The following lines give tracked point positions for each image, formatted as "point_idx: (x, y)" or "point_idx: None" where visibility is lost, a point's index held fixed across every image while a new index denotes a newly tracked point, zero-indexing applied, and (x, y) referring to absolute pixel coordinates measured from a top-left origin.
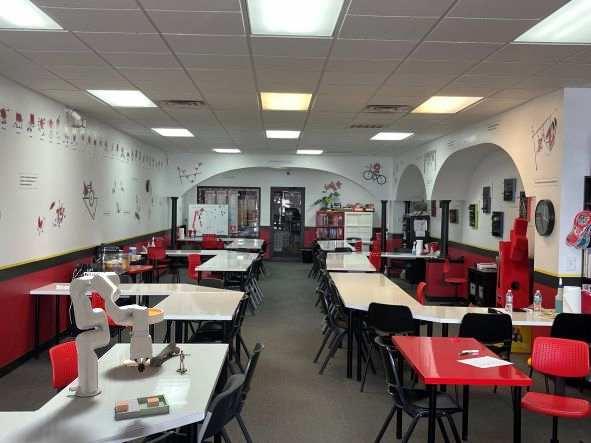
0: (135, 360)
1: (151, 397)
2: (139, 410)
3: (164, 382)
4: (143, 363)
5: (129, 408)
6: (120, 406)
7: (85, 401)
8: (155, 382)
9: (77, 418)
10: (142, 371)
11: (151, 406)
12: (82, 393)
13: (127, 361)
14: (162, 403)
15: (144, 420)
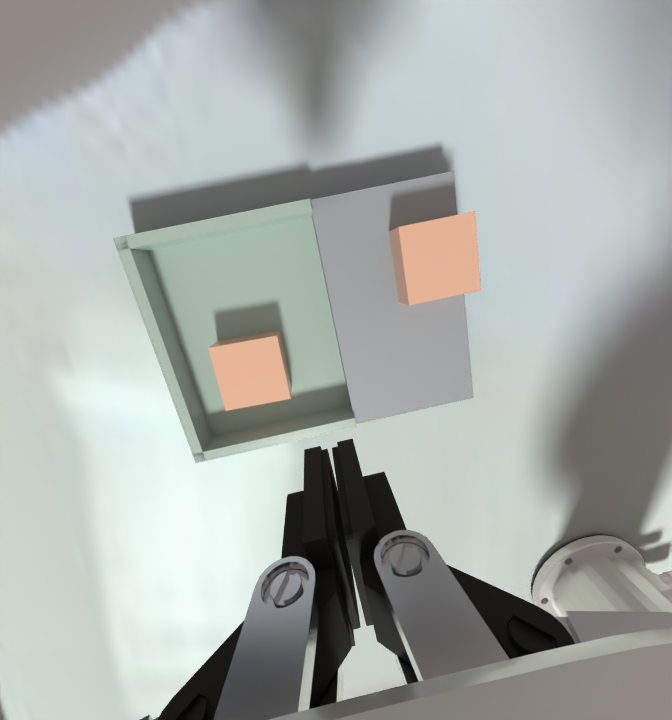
0: (524, 619)
1: (272, 433)
2: (314, 203)
3: None
4: (299, 562)
5: (383, 257)
6: (446, 217)
7: (597, 481)
8: None
9: (639, 248)
10: (317, 450)
11: (260, 333)
12: (619, 557)
13: None
14: (204, 381)
15: (272, 117)
